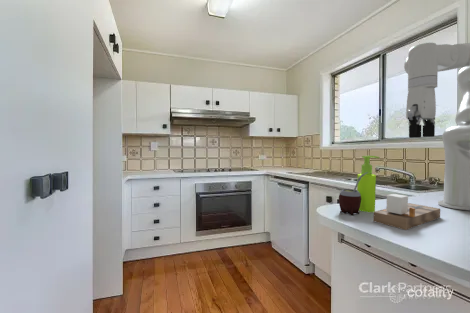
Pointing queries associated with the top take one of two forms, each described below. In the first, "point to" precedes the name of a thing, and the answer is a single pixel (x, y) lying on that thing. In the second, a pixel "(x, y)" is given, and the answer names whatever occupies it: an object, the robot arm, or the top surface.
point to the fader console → (407, 216)
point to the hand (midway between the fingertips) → (421, 137)
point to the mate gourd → (350, 200)
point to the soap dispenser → (367, 186)
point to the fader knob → (397, 204)
